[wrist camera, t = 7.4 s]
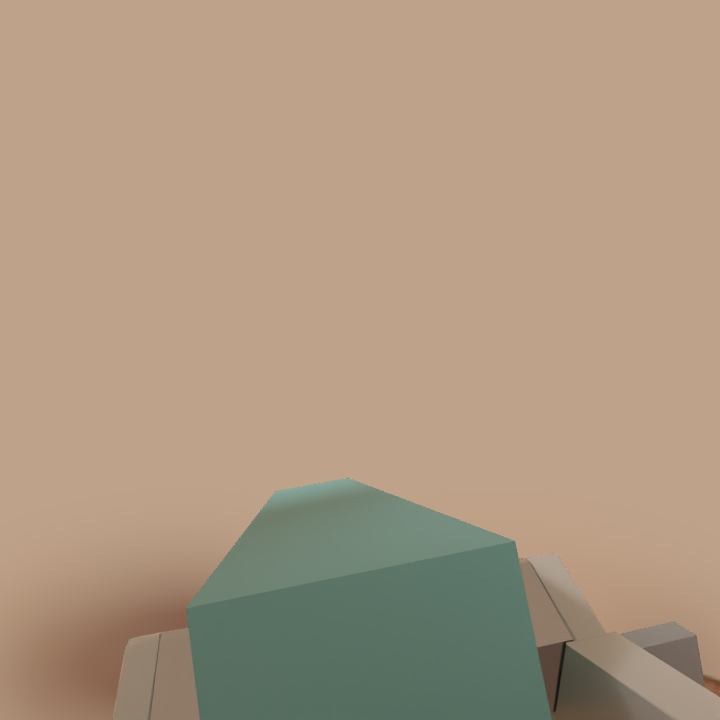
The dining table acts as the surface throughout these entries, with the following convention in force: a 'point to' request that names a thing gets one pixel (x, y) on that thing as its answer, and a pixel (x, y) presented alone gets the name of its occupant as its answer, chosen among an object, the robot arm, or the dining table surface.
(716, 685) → the dining table surface
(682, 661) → the grey boxy piece
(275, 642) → the teal square bar
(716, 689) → the dining table surface
